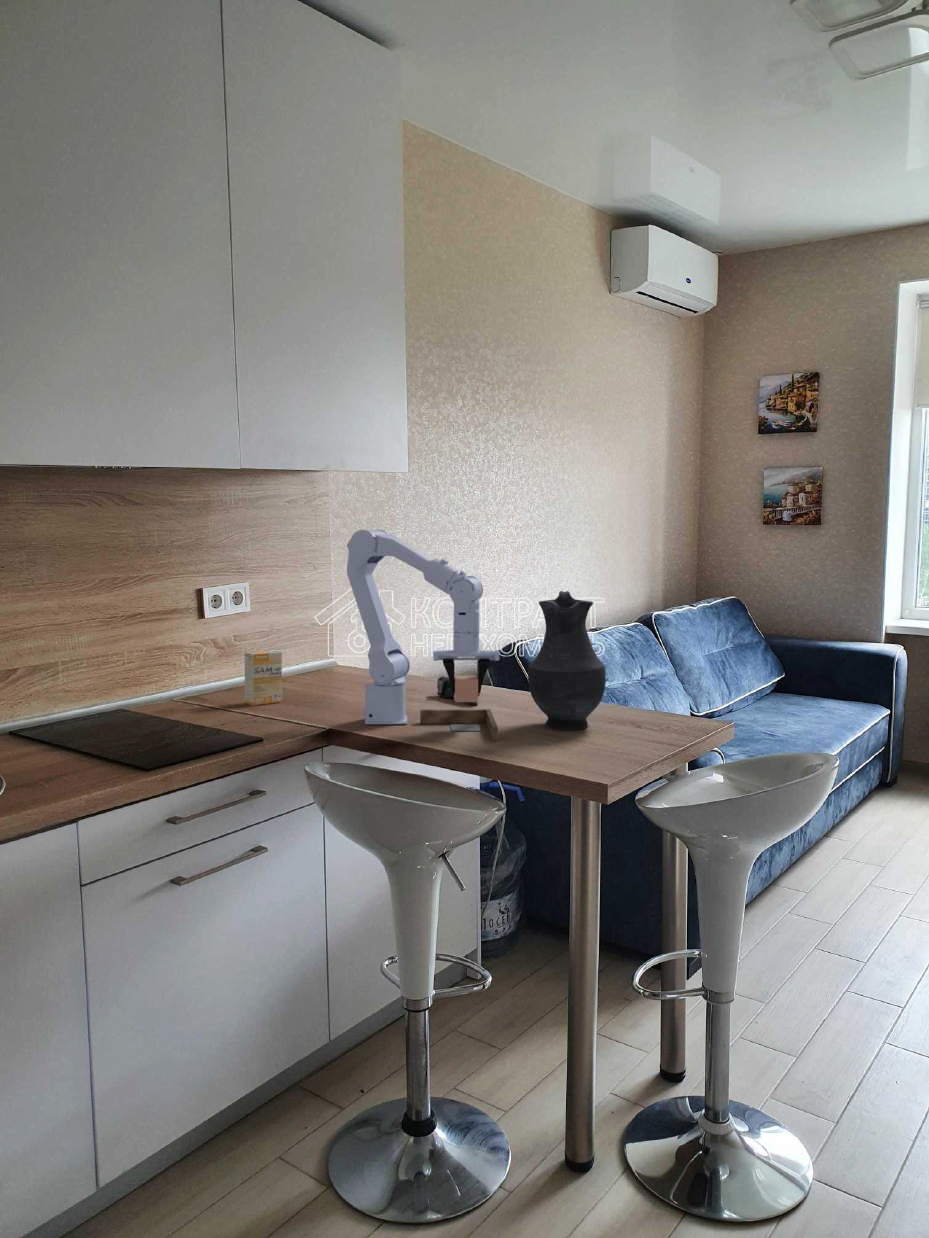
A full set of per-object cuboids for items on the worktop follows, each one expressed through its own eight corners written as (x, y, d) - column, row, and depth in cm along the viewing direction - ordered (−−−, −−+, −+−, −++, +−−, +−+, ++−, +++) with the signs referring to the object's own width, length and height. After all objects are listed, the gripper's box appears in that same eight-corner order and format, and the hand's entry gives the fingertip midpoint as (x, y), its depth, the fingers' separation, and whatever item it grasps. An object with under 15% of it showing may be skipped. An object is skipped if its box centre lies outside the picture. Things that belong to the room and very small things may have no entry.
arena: (421, 741, 193) (421, 727, 193) (420, 722, 212) (420, 709, 211) (497, 741, 194) (497, 727, 194) (490, 722, 213) (490, 709, 212)
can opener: (430, 696, 244) (430, 675, 244) (453, 693, 248) (453, 673, 247) (464, 708, 229) (464, 686, 228) (488, 705, 232) (488, 683, 232)
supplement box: (253, 706, 228) (252, 653, 227) (244, 703, 232) (243, 651, 231) (283, 702, 233) (282, 651, 232) (274, 699, 237) (273, 648, 236)
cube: (455, 702, 203) (455, 679, 202) (454, 697, 208) (454, 675, 207) (477, 702, 203) (478, 679, 203) (476, 697, 208) (476, 675, 208)
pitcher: (528, 734, 201) (530, 596, 198) (526, 713, 222) (528, 589, 219) (608, 735, 200) (611, 597, 197) (598, 715, 221) (601, 589, 218)
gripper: (433, 634, 200) (433, 696, 201) (500, 634, 200) (500, 695, 202) (433, 630, 207) (432, 690, 208) (497, 630, 207) (497, 689, 209)
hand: (465, 692), depth 205 cm, fingers closed on cube, 5 cm apart
